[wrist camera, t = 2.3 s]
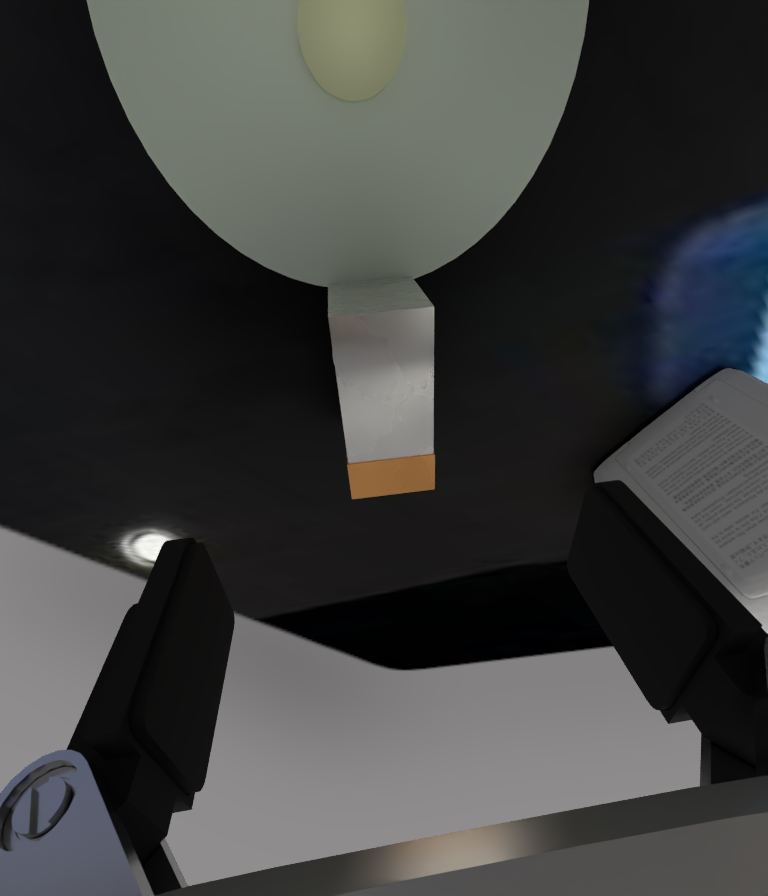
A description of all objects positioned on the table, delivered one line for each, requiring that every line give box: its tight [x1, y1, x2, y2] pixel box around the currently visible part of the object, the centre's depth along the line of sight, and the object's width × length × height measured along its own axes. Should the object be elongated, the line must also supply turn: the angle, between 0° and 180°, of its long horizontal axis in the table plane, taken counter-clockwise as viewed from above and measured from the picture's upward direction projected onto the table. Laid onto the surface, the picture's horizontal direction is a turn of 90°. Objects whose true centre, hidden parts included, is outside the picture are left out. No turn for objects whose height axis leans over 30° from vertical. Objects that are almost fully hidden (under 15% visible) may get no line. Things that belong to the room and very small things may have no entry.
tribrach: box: [87, 0, 589, 365], centre depth 14 cm, size 23×22×3 cm
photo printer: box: [594, 368, 768, 634], centre depth 21 cm, size 10×4×12 cm, turn 141°
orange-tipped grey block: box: [328, 276, 435, 499], centre depth 18 cm, size 8×4×6 cm, turn 4°
